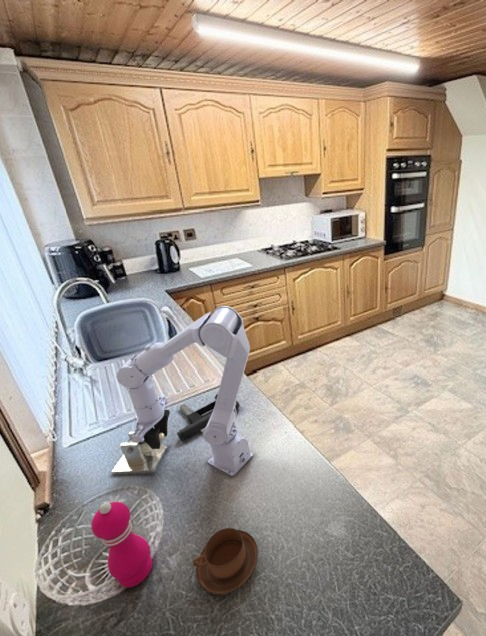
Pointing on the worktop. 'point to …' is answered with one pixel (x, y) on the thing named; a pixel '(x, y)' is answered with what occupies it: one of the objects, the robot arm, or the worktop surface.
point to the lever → (161, 438)
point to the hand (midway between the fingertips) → (159, 441)
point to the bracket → (138, 458)
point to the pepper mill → (122, 544)
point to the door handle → (197, 419)
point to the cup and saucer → (226, 561)
